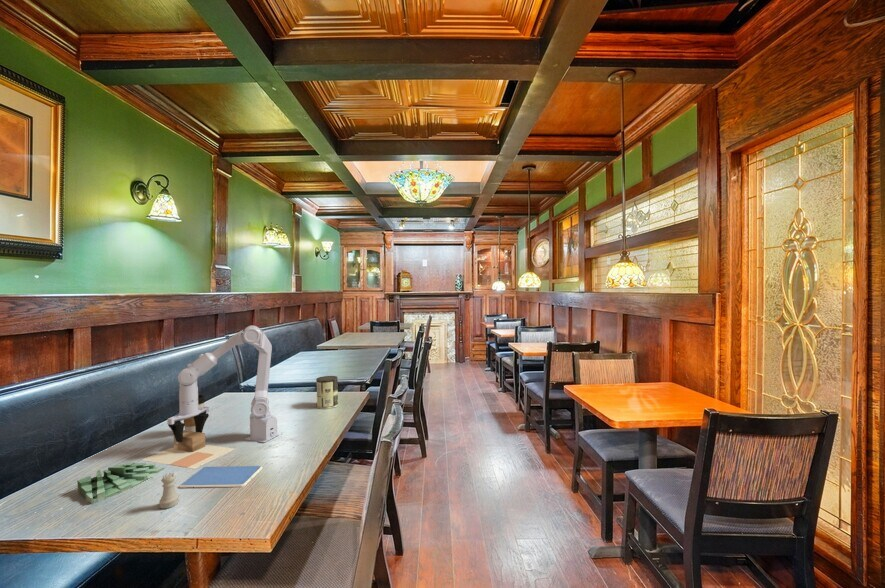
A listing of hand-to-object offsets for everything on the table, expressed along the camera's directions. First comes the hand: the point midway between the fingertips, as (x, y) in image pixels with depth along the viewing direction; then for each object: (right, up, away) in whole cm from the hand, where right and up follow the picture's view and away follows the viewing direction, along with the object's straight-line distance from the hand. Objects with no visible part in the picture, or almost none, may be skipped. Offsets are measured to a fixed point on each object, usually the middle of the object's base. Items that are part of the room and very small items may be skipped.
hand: (189, 437), depth 138 cm
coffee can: (+35, -4, +51) cm, 62 cm away
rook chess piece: (+19, -4, -36) cm, 41 cm away
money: (-5, -5, -26) cm, 27 cm away
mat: (+4, -4, -5) cm, 8 cm away
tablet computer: (+25, -5, -21) cm, 33 cm away
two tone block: (0, -4, 0) cm, 4 cm away
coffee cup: (-9, -5, +17) cm, 20 cm away
